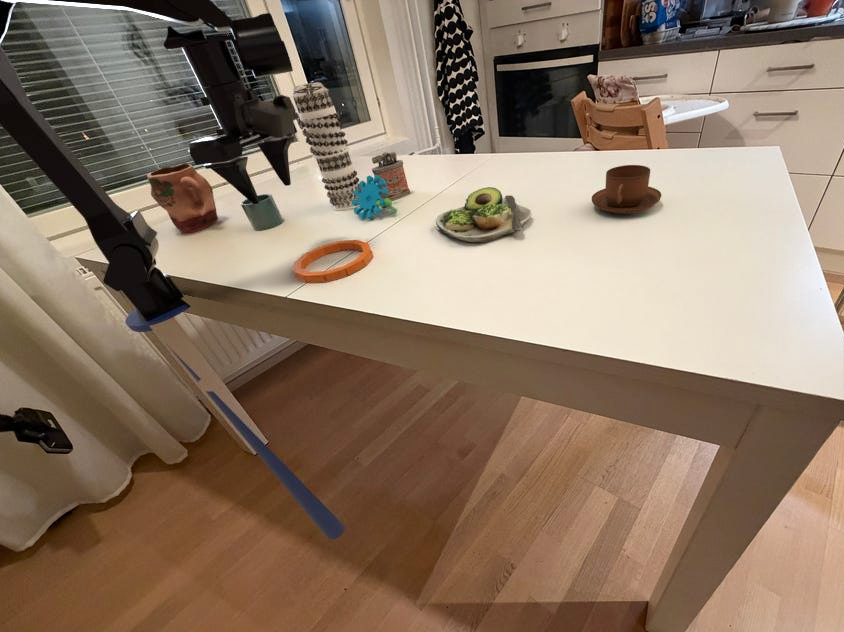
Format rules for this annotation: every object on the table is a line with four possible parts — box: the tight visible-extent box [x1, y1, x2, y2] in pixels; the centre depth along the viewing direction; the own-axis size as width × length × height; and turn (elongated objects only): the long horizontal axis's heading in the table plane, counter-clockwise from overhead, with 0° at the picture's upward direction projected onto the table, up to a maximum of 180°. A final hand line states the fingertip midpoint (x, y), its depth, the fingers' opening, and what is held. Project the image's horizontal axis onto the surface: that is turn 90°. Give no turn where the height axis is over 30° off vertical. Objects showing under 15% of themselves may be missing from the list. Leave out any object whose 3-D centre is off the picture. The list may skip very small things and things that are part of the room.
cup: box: [240, 193, 284, 231], centre depth 93 cm, size 7×7×6 cm
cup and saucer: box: [591, 164, 662, 214], centre depth 71 cm, size 12×12×6 cm
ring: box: [293, 239, 374, 284], centre depth 71 cm, size 14×14×1 cm
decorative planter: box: [146, 162, 219, 233], centre depth 98 cm, size 20×12×14 cm, turn 64°
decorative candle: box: [291, 81, 361, 212], centre depth 90 cm, size 9×9×25 cm
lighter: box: [371, 151, 411, 202], centre depth 94 cm, size 8×3×10 cm, turn 130°
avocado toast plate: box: [435, 186, 532, 243], centre depth 74 cm, size 19×18×5 cm
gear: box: [352, 175, 398, 220], centre depth 89 cm, size 11×6×10 cm
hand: (273, 194), depth 67 cm, fingers open, 9 cm apart
